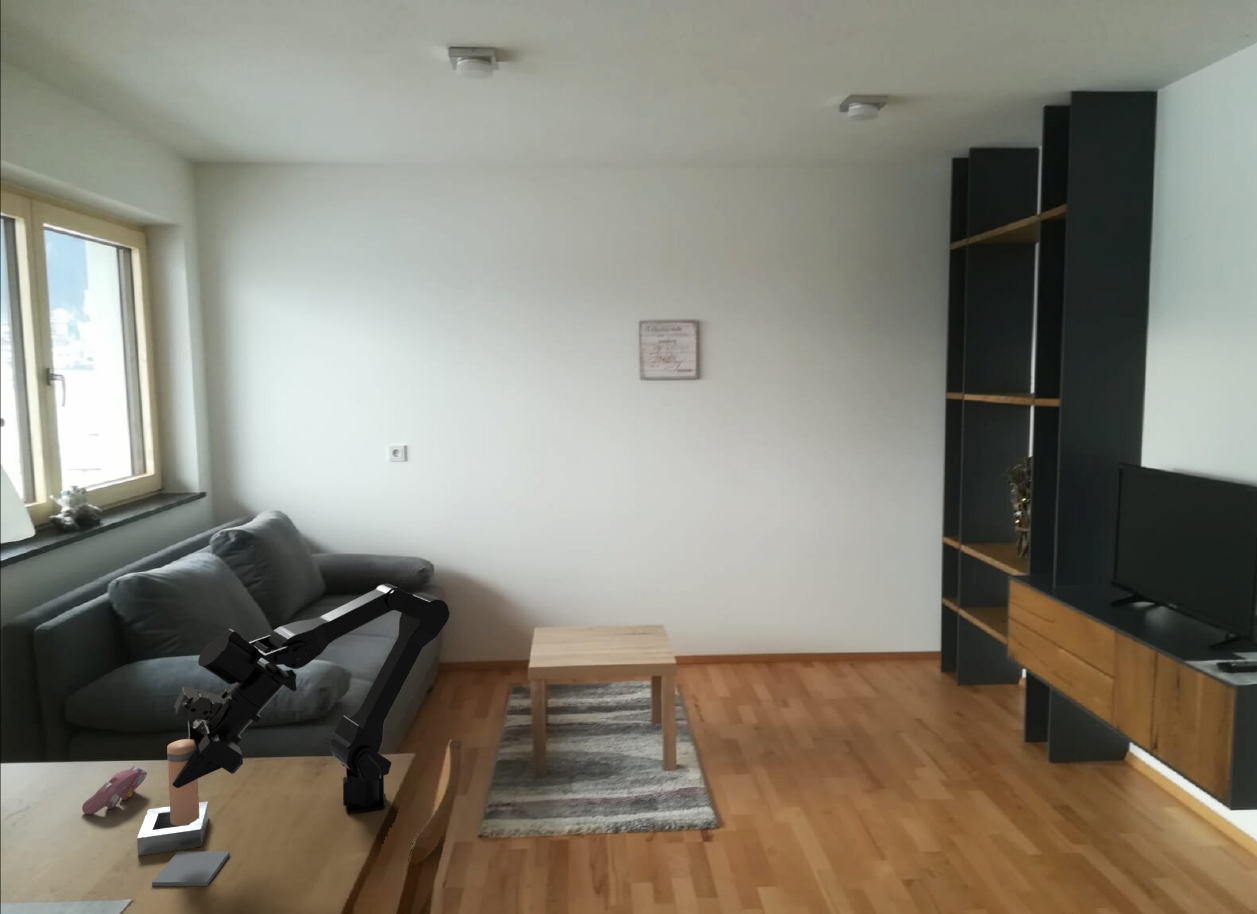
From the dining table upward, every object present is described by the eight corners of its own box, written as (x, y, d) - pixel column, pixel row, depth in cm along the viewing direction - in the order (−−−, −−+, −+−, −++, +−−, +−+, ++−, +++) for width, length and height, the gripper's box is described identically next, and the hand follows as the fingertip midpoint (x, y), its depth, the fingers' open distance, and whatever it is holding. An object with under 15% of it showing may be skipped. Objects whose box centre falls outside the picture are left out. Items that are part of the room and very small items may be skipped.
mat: (177, 854, 136) (177, 851, 136) (229, 854, 136) (229, 851, 136) (151, 885, 128) (151, 882, 128) (206, 885, 128) (206, 882, 128)
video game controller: (98, 826, 146) (112, 793, 145) (77, 812, 147) (91, 779, 145) (141, 797, 156) (155, 767, 155) (121, 784, 156) (135, 753, 155)
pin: (201, 810, 136) (198, 737, 135) (197, 823, 132) (194, 749, 131) (173, 813, 135) (170, 740, 134) (167, 827, 131) (164, 752, 130)
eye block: (208, 818, 147) (207, 801, 146) (201, 846, 138) (200, 828, 138) (148, 826, 144) (148, 809, 143) (137, 856, 135) (137, 838, 135)
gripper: (200, 651, 141) (125, 730, 136) (216, 689, 125) (132, 779, 121) (253, 688, 146) (183, 765, 141) (275, 729, 130) (196, 817, 126)
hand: (173, 780), depth 132 cm, fingers closed on pin, 4 cm apart
